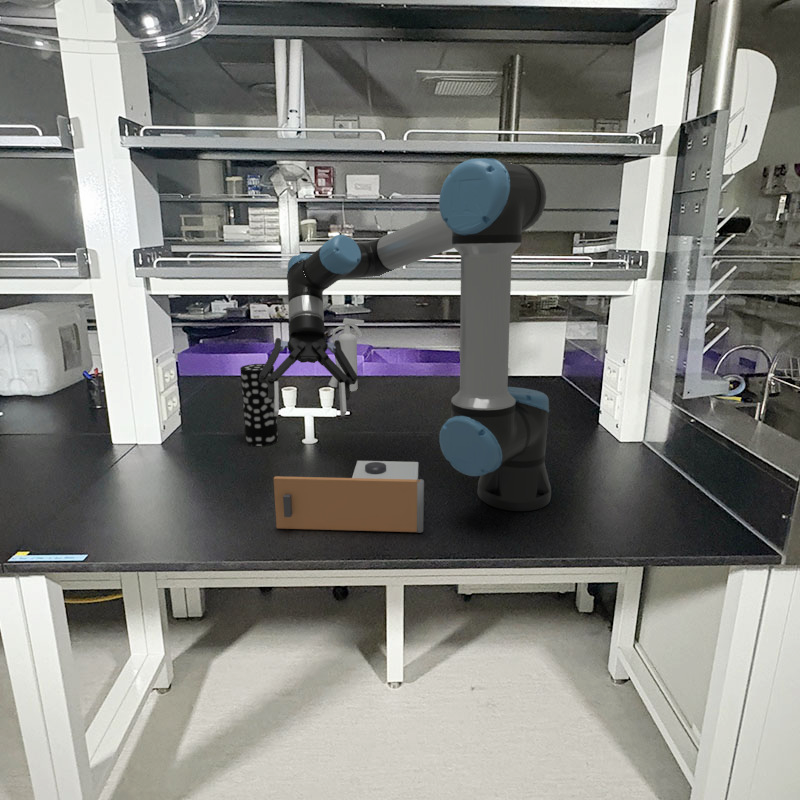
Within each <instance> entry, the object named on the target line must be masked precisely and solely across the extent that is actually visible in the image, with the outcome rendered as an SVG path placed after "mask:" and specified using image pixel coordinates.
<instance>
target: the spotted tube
mask: <svg viewBox="0 0 800 800" xmlns="http://www.w3.org/2000/svg"><path fill="white" fill-rule="evenodd" d="M265 364H266V363H252V364H246V365H243V366H240V368H239V370H240V380H241V381H240V382H241V394H242V395H241V397H242V406H243V407H242V409H243V421H244V434H245V444H246V445H248V446H250V445H251V447H256V446H261V447H267V445H269V446H272V445H275V444H276V443H278V442H279V433H278V432H279V431H278V416H274V399H269V398H268V385H267V384H266V383H264V382H263V383H261V382H259V375H260V373H261V371H262V369H263V367H264V365H265ZM274 371H275V366H274V365H273V367H272V369H271V370H270V372H269V374H268V376H270V375H271V374H272V373H273V372H274ZM274 443H275V444H274Z"/></svg>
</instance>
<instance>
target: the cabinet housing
mask: <svg viewBox="0 0 800 800" xmlns="http://www.w3.org/2000/svg"><path fill="white" fill-rule="evenodd" d="M351 478H370V479H415V480H418V479H419V462H418V461H397V460H396V461H390V460H389V461H386V460H382V461H381V460H357V461H356V465H355V467H354V470H353V474H352V477H351Z"/></svg>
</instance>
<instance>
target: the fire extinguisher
mask: <svg viewBox="0 0 800 800" xmlns="http://www.w3.org/2000/svg"><path fill="white" fill-rule="evenodd" d="M364 324H365V320H363V319H355V318H349V317H348V318H346V317H345V318H344V319H343V321H342V325H344V326H342V325H341V326H338V327H336V328H334V329H333V330H332V334H331V335H332V336H331V340H332V343H334V342H335V341H336V332H338V331H340V330H343V333H341V334H340V335H338V337H337V340H338V341H340V345H341V350H342V351H343V353H344V355H345V356H346V358H347V360H348V361H349V363H350V365H351V366H352V368H353V370H354V371H355V373H356V375H357V376H358V339H357V337H356V335H355V334H353V333H351V332H352V331H351V328H350V327H352V328H353V329H354V330H355V332H356V333H357V336H358V338H359V339H360V338H361V337H362V336H363V333H362V331H361V328H359V326H357V325H364ZM334 360H335V362H334V363H335V364H336V365H337V366H338V367H339V368H340V369H341V371H342V372H343V373H344V371H343V369H342V368H341V366H340V364H339V363H338V361H337V359H336V358H335V357H334ZM344 374H345V373H344ZM345 375H346V374H345ZM358 380H359V379H357V381H356V383H355V384H351V385H350V391H351V392H356V391H357V389H359V387H358V384H359V383H358ZM327 385H328V386H330V387H331V388H337V387H339V386H340V383H339V381H338V380H337V379H336V378H335V377H334V376H333V375H332V376H331V378H330V380H329V381H328V384H327Z"/></svg>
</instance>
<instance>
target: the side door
mask: <svg viewBox="0 0 800 800" xmlns="http://www.w3.org/2000/svg"><path fill="white" fill-rule="evenodd" d="M424 488H425V481H424V479H422V478H420V479H419V478H418V480H415V479H370V478H352V477H326V476H325V477H322V476H321V477H320V476H317V477H313V476H279V475H278V476H277V475H275V476H274V477H273V491H274V494H273V495H274V504H275V505H274V507H275V523H276V529H286V530H289V529H291V530H292V529H293V530H322V531H323V530H326V531H327V530H328V531H329V530H331V531H360V532H361V531H365V532H400V533H423V532H424V507H425V506H424V504H425V503H424V501H425V500H424V499H425V497H424V495H425V489H424Z"/></svg>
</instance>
